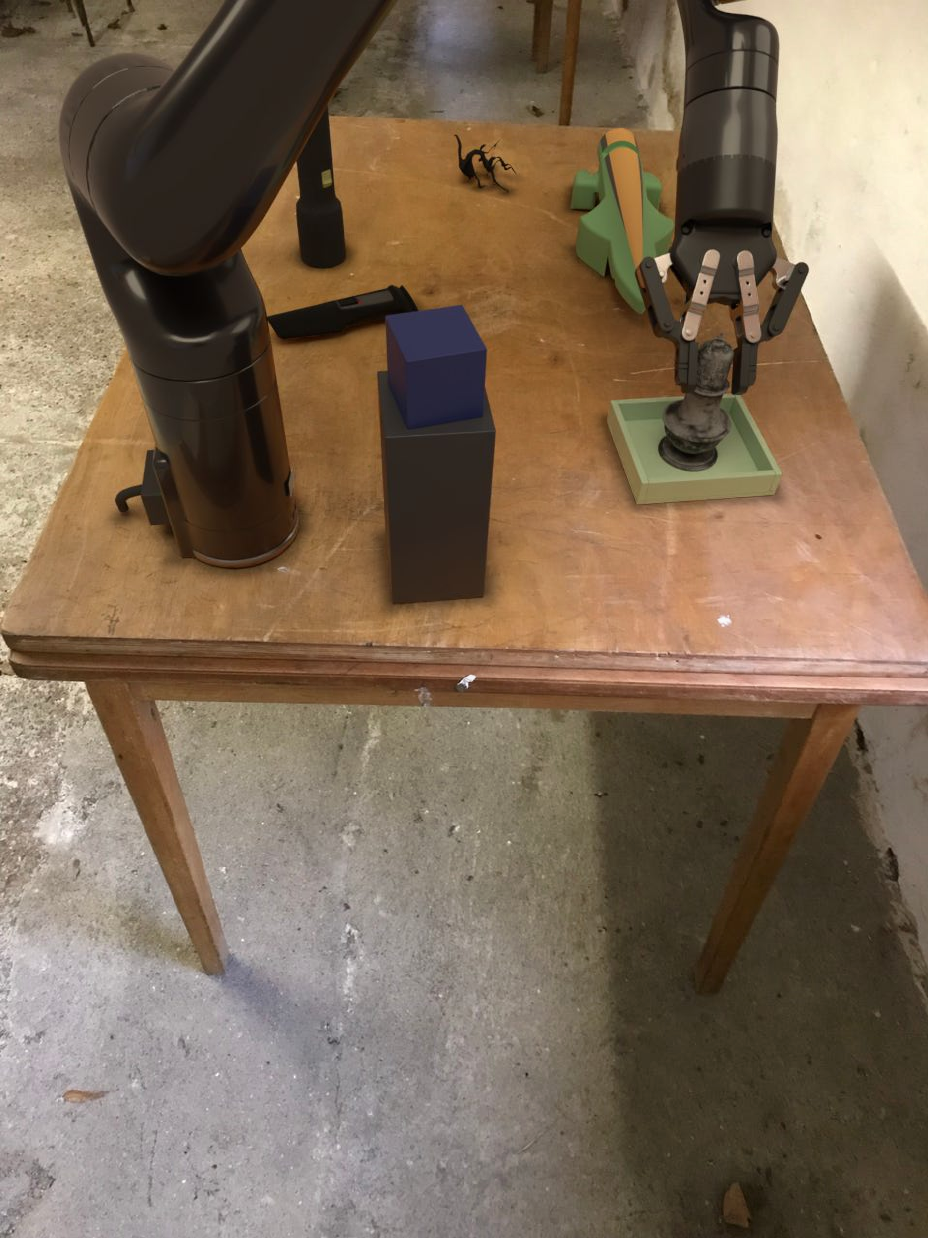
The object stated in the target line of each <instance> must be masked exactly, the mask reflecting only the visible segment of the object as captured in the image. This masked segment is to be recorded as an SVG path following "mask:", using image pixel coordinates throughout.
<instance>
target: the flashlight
mask: <svg viewBox="0 0 928 1238" xmlns="http://www.w3.org/2000/svg"><path fill="white" fill-rule="evenodd" d="M295 164H296V170H297V180H298V188H299V189H298V190H299V198H298V200H297V201H296V204H295V218H296V225H297V236H298V244H299V254H300V259H301V261H302V262H303V263H304V264H305V265H307V266H309V267H311V268H318V269H329V268H333V267H336V266H339V265H341V264H342V263H344V262H345V260H346V258H347V251H346V249H347V248H346V237H345V223H344V214H343V213H344V211H343V207H342V202H341V201H340V199H339V198H338V197H337V195H336V187H335V175H334V164H333V150H332V137H331V126H330V113H329V105H328V106H327V107H326V109H325V111H324V112H323V114H322V116H321V118H320V119H319V121H318V123H317V125H316V126H315V128H314V130H313V132H312V134H311V135H310V137H309V139H308V141H307V143H306V144H305V146H304V148H303V150H302V152H301V153H300V155H299V157H298V159H297V161H296V162H295Z"/></svg>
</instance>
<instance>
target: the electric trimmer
mask: <svg viewBox="0 0 928 1238" xmlns="http://www.w3.org/2000/svg"><path fill="white" fill-rule="evenodd" d="M415 311H419V308H418V307H417V305H416V303H415V301H414V299H413V298H412V296H411V294H410V293H409V292H408V290H407V289H406V288H405V286H404V285H403V284H401V285H400V286H399V287H398V286H396V285H394V284H389V285H388V286H387V287H386V288H382V289H377V290H373V291H369V292H365V293H360V294H356V295H351V296H347V297H342V298H338V299H333V300H329V301H325V302H322V303H318V304H314V305H309V306H305V307H300V308H297V309H292V310H288V311H284V312H280V313H275V314H271V315H267V319H268V325H270V327H271V329H272V331H273V332H274V334H275V335H276V336H277V338H278V339H280V340H292V339H301V338H310V337H319V336H327V335H333V334H340V333H342V332H343V331H344V330H345V329H346V328H348V327H352V326H356V325H362V324H366V323H371V322H377V321H381V320H385V316H388V315H394V314H401V313H408V312H415Z"/></svg>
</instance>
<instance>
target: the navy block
mask: <svg viewBox="0 0 928 1238" xmlns="http://www.w3.org/2000/svg"><path fill="white" fill-rule="evenodd" d="M384 320H385V321H384V322H385V341H386V342H385V343H386V346H385V347H386V368H387V369H386V371H387V372H388V384H389V387H390V389H391V391H392V394H393V396H394V398H395V401H396V403H397V405H398V408H399V410H400V412H401V415H402V417H403V419H404V422H405V424H406V426H407V429H408V430H409V429H415V428H420V427H426V426H432V425H438V424H443V423H449V422H455V421H461V420H466V419H472V418H478V417H483V410H484V394H485V388H486V376H487V375H486V374H487V359H488V357H487V356H488V348H487V346H486V345H485V343H484V341H483V339H482V338H481V336H480V334H479V332H478V330H477V329H476V327H475V324H474V323H473V321H472V320H471V318H470V317H469V315H468V313H467V310H466V309H465V307H464V305H463V304H456V305H451V306H444V307H443V306H442V307H437V308H436V307H435V308H431V309H430V308H429V309H423V310H422V309H421V310H418V311H415V312H408V313H401V314H394V315H388V316H385V319H384Z"/></svg>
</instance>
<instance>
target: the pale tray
mask: <svg viewBox="0 0 928 1238" xmlns="http://www.w3.org/2000/svg"><path fill="white" fill-rule="evenodd" d="M684 397H685V395H680V396H679V395H677V396H662V397H661V396H659V397H645V398H643V397H642V398H627V399H625V398H624V399H611V400H610V402H609V406H608V413H607V416H606V417H607V418H606V424H607V428H608V430H609V432H610V435H611V438H612V440H613V444H614V446H615V448H616V451H617V455H618V457H619V459H620V460H619V461H620V463H621V465H622V468H623V470H624V473H625V476H626V478H627V481H628V483H629V487H630V489H631V492H632V495H633V498H634V500H635V503H636V505H650V504H665V503H676V502H677V503H678V502H679V503H680V502H691V501H707V500H708V501H709V500H721V499H722V500H723V499H735V498H750V497H765V496H774V495H775V494H776V491H777V489H778V486H779V484H780V481H781V479H782V476H783V472H782V470H781V469H780V467H779V465H778V463H777V461H776V459H775V457H774V455H773V454H772V451H771V450H770V447H769V446H768V444H767V442H766V440H765V438H764V437H763V435H762V432H761V431H760V429H759V427H758V426H757V424H756V422H755V419H754V417H753V416H752V414H751V412H750V410H749V409H748V406H747V404H746V403H745V400H744V399H743V397H742V395H732V393H731V392H730V393H724V394H723V397H722V400H721V404H720V408H722V409H723V410H724V411H725V412H726V413H727V414H728V416H729V418H730V420H731V429H730V431H729V433H728V434H727V435H726V436H725V437H724V438H723V440H722V441H721V442H720V443H719V444H718V445H717V446H716V449H717V452H718V458H717V461H716V463H715V464H714V465H713V466H712V467H710V468H708V469H706V470H703V471H695V472H691V471H683V470H680V469H677V468H674V467H672V466H670V465H669V464H668V463H666V462H665V461H664V460H663V459H662V458H661V456H660V454H659V452H658V445H659V443H660V440H661V439H662V438H663V437H664V436H666V433H665V428H664V422H663V412H664V410H665V408H666V407H667V406H668V405H669V404H670V403H673V402H675V401H677V400H681V399H684Z"/></svg>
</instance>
